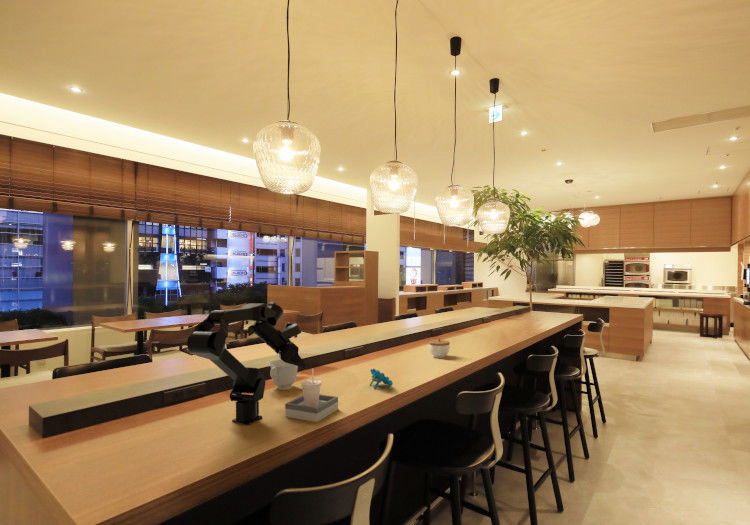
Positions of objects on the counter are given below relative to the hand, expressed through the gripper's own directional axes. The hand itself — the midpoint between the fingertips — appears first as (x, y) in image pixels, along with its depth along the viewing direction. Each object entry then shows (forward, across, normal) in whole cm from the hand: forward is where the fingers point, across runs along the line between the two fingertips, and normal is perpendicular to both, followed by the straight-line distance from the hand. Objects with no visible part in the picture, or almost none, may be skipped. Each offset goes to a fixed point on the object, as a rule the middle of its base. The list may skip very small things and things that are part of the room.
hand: (302, 363), depth 134 cm
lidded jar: (+66, +42, -47) cm, 92 cm away
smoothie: (+10, -10, +9) cm, 17 cm away
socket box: (+10, -10, +9) cm, 17 cm away
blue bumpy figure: (+32, +6, -13) cm, 35 cm away
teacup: (+7, +21, +12) cm, 25 cm away
